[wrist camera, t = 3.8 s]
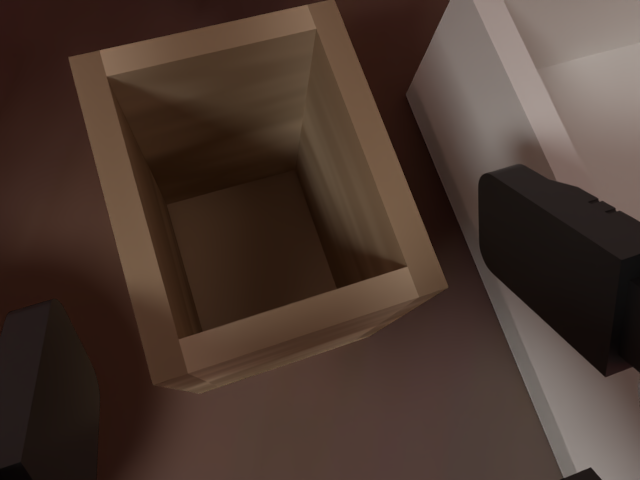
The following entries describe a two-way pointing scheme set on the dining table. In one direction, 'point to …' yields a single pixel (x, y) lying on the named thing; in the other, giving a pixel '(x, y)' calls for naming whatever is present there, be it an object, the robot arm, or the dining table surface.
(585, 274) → the robot arm
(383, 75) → the dining table surface
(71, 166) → the dining table surface
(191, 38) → the small wooden crate
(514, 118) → the big plastic crate
